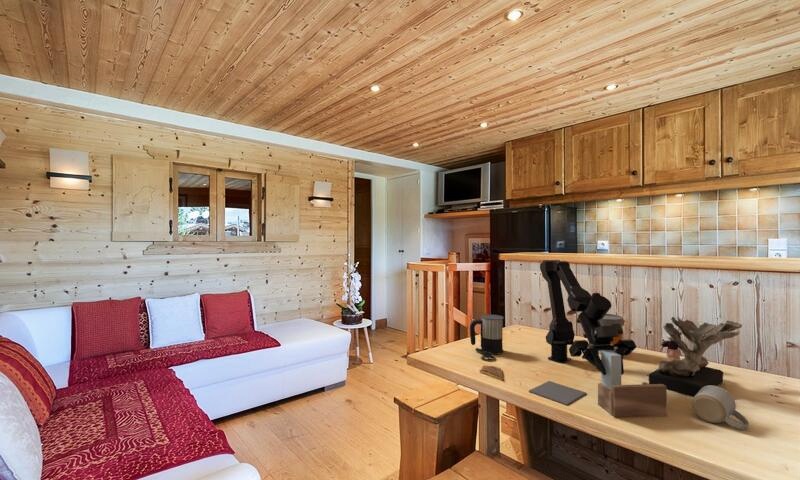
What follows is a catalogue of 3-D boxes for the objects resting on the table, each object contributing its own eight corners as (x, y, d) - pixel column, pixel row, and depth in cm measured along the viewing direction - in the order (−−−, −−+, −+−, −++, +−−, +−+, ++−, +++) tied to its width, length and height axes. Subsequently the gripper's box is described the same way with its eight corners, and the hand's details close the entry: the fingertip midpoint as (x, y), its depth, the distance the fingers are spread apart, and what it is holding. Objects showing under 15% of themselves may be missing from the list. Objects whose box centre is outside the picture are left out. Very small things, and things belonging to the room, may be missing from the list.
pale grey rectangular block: (601, 392, 111) (601, 350, 111) (611, 392, 111) (610, 350, 111) (611, 400, 106) (611, 355, 106) (621, 399, 106) (621, 355, 106)
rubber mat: (549, 382, 120) (549, 380, 120) (586, 393, 110) (586, 392, 110) (528, 391, 112) (528, 390, 112) (566, 405, 103) (566, 404, 103)
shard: (502, 382, 121) (502, 377, 121) (479, 381, 122) (479, 375, 122) (501, 371, 131) (501, 366, 131) (479, 369, 133) (479, 364, 133)
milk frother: (498, 347, 158) (498, 313, 158) (514, 359, 142) (514, 321, 142) (466, 349, 156) (466, 314, 156) (479, 361, 141) (479, 323, 140)
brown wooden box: (597, 404, 103) (597, 376, 103) (646, 403, 104) (645, 375, 104) (614, 417, 95) (614, 387, 95) (666, 416, 96) (666, 386, 96)
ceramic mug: (689, 417, 95) (690, 388, 95) (699, 408, 100) (699, 381, 100) (744, 435, 87) (745, 404, 86) (752, 424, 92) (752, 394, 91)
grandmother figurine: (683, 365, 134) (683, 331, 134) (686, 368, 130) (686, 333, 130) (658, 362, 137) (658, 329, 137) (661, 365, 134) (660, 331, 134)
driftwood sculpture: (677, 368, 131) (677, 308, 131) (754, 386, 114) (753, 318, 114) (646, 384, 117) (645, 317, 117) (728, 408, 100) (727, 330, 100)
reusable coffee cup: (626, 351, 150) (626, 315, 150) (621, 359, 141) (620, 321, 141) (593, 346, 159) (593, 312, 159) (585, 353, 149) (585, 316, 149)
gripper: (573, 314, 112) (593, 362, 101) (632, 313, 113) (659, 360, 102) (561, 333, 120) (579, 379, 109) (616, 332, 120) (639, 378, 109)
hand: (614, 374), depth 107 cm, fingers open, 5 cm apart
